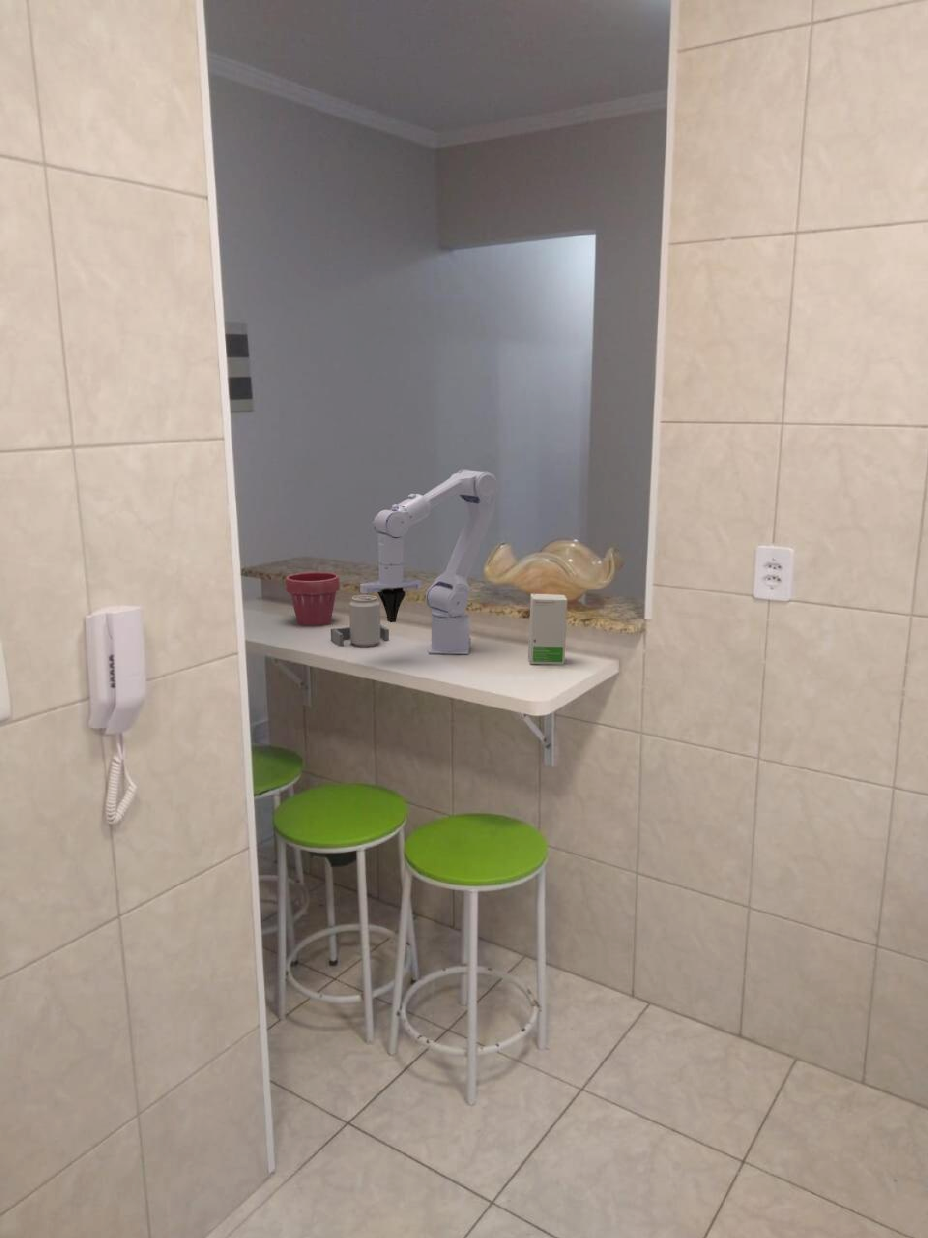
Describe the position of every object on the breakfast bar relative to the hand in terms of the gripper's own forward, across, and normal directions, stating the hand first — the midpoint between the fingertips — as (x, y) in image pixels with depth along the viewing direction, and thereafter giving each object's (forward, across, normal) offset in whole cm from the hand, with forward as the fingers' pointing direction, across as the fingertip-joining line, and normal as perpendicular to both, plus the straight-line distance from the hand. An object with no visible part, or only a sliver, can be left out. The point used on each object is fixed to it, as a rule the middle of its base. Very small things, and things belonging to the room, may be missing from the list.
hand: (391, 621), depth 219 cm
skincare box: (+10, -32, +16) cm, 37 cm away
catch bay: (+9, 0, -20) cm, 22 cm away
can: (+10, 0, -17) cm, 19 cm away
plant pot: (+10, +4, -44) cm, 45 cm away
